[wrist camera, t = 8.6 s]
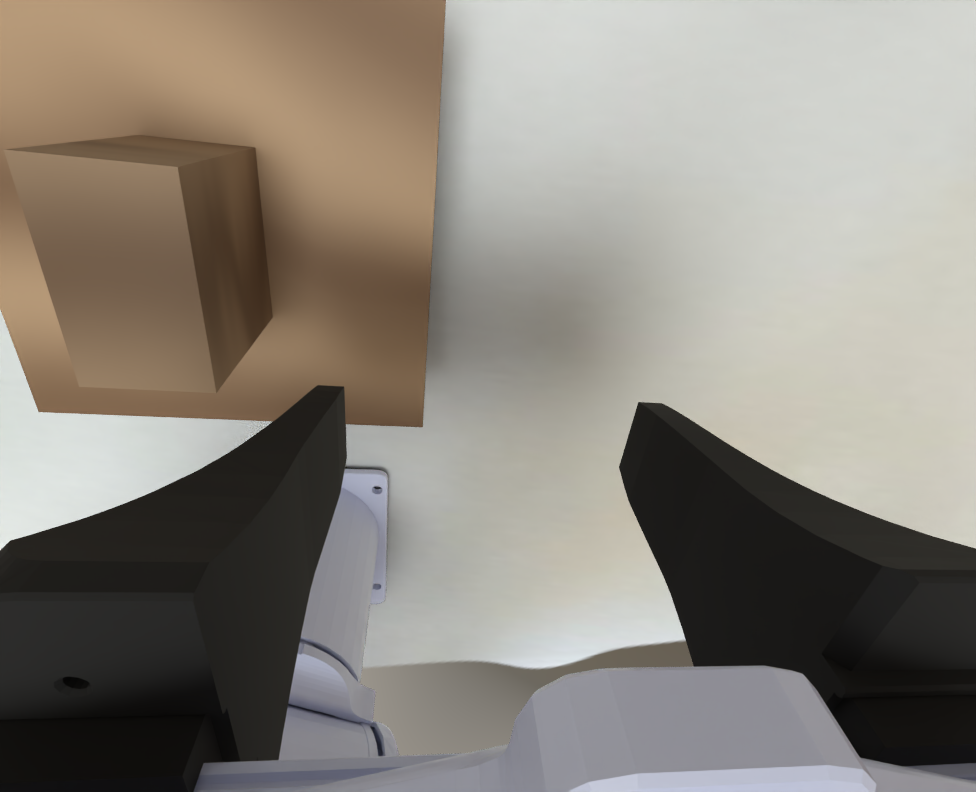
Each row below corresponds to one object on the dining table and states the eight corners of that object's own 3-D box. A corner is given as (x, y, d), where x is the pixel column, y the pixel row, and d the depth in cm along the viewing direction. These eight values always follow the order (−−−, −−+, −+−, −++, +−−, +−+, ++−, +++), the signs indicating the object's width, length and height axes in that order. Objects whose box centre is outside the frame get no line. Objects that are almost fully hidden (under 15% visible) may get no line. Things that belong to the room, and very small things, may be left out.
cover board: (422, 418, 20) (419, 521, 15) (50, 403, 18) (-91, 513, 13) (445, -2, 13) (452, -60, 9) (-126, -88, 12) (-519, -222, 7)
